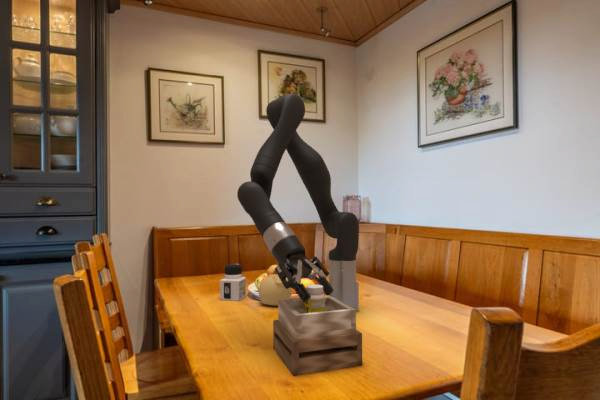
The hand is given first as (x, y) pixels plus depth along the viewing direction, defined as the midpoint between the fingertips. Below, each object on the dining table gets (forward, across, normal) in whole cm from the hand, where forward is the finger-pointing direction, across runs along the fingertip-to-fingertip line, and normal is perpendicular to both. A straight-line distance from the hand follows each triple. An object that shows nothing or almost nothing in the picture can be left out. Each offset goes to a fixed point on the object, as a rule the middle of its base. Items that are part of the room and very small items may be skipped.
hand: (319, 296), depth 89 cm
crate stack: (+9, 0, +11) cm, 14 cm away
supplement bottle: (+3, 0, +6) cm, 7 cm away
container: (-33, +24, +54) cm, 67 cm away
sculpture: (-20, +28, +40) cm, 53 cm away
